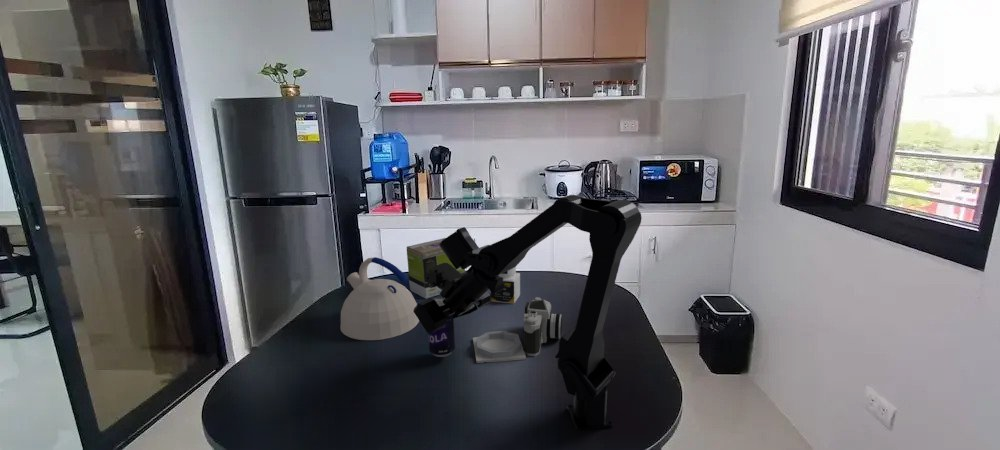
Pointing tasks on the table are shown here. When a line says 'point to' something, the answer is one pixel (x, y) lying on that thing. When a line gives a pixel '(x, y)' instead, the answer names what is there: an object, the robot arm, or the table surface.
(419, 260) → the tea box
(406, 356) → the table surface
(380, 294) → the kettle
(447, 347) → the beverage can
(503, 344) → the mount
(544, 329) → the camera
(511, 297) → the medicine bottle
